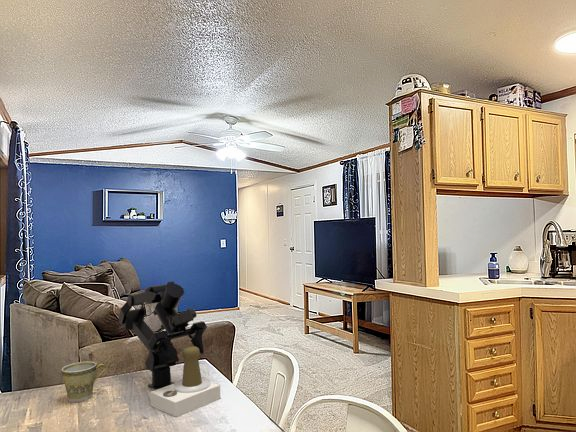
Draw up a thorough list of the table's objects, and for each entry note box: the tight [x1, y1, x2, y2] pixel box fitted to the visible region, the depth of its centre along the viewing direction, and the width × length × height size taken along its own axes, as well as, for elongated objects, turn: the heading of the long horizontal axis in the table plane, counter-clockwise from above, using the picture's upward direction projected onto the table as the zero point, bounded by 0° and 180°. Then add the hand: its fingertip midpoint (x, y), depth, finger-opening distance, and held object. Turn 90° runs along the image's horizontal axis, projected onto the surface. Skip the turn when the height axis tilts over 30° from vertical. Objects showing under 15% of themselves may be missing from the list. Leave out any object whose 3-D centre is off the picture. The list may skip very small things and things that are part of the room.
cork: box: [181, 345, 202, 387], centre depth 134 cm, size 6×6×11 cm
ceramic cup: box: [61, 361, 106, 403], centre depth 140 cm, size 13×10×10 cm
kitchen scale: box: [149, 376, 221, 418], centre depth 132 cm, size 13×16×5 cm
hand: (190, 357), depth 135 cm, fingers open, 9 cm apart
